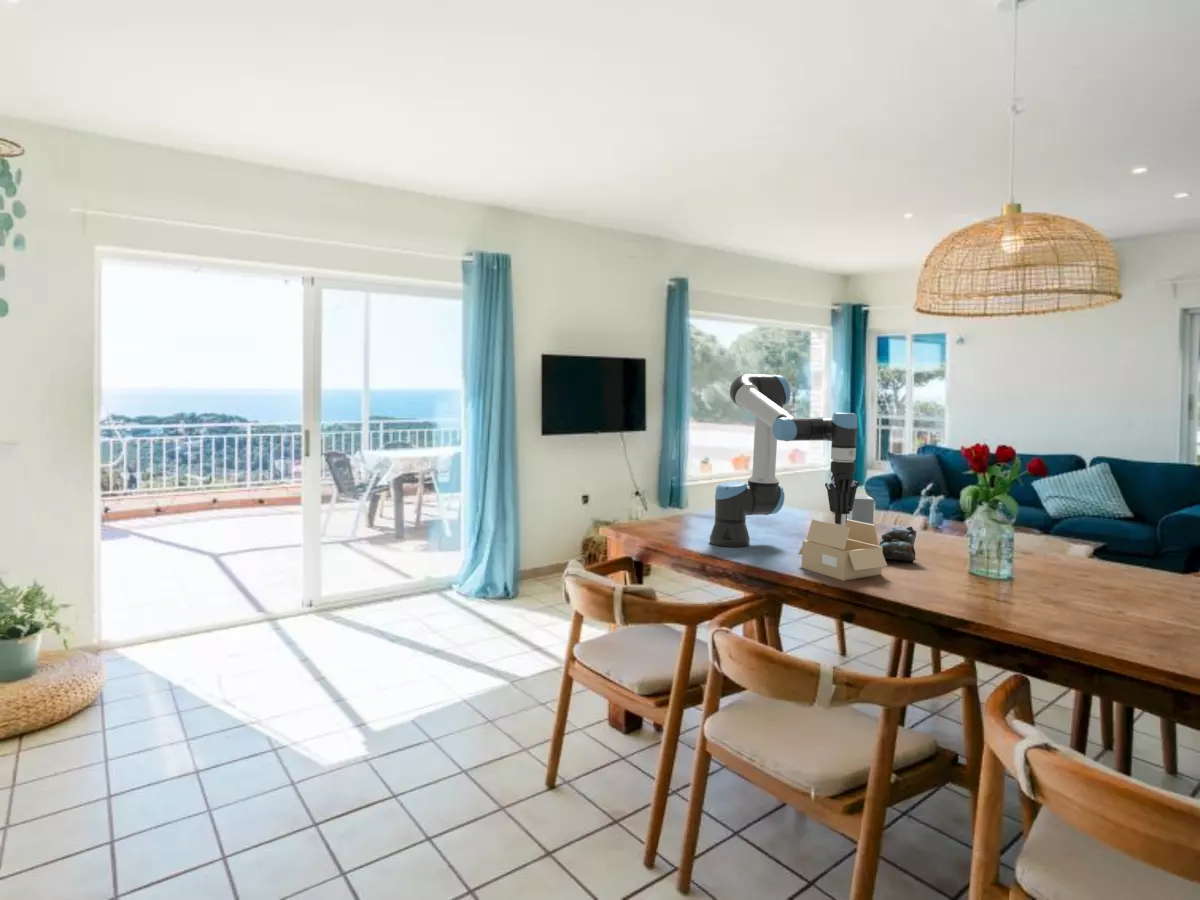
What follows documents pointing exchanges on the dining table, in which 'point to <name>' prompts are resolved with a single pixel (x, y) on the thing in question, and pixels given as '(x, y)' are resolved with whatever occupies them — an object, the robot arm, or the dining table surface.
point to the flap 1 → (828, 534)
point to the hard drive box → (862, 509)
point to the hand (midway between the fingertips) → (840, 533)
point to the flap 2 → (862, 532)
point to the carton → (843, 559)
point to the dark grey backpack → (899, 544)
